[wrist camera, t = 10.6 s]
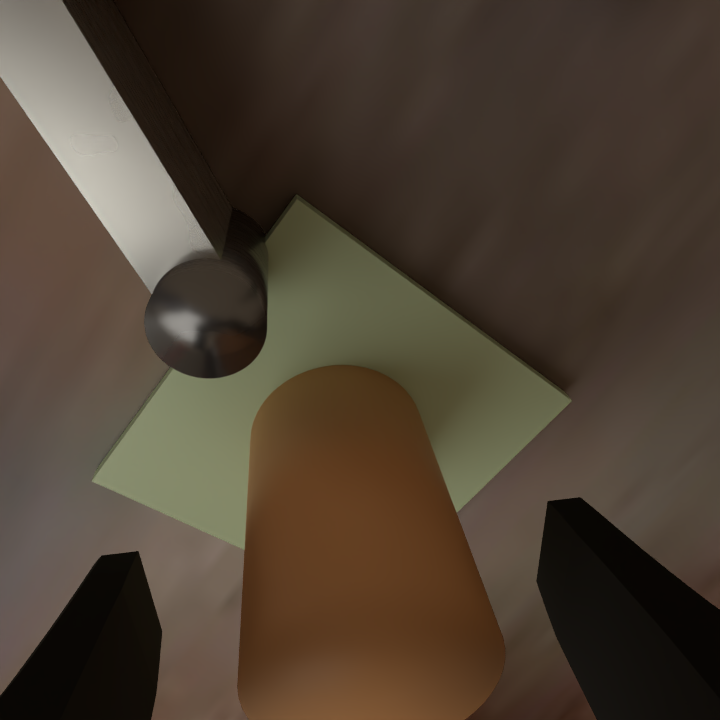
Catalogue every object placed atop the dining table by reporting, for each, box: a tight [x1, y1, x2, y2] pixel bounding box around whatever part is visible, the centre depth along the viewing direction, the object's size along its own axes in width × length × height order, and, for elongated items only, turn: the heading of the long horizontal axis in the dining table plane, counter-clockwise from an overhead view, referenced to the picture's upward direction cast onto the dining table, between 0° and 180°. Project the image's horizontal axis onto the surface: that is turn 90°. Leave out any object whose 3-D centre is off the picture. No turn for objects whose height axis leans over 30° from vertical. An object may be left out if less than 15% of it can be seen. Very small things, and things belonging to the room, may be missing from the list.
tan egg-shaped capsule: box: [237, 365, 505, 720], centre depth 12 cm, size 4×4×6 cm
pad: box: [92, 194, 572, 550], centre depth 15 cm, size 8×8×1 cm
